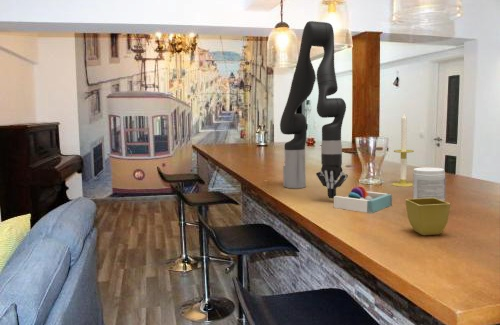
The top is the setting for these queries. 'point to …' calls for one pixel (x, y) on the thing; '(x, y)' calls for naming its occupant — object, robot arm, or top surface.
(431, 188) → the supplement tub
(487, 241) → the top surface
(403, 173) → the candle
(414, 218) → the flower pot
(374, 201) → the bay
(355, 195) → the multicoloured petal flower toy
